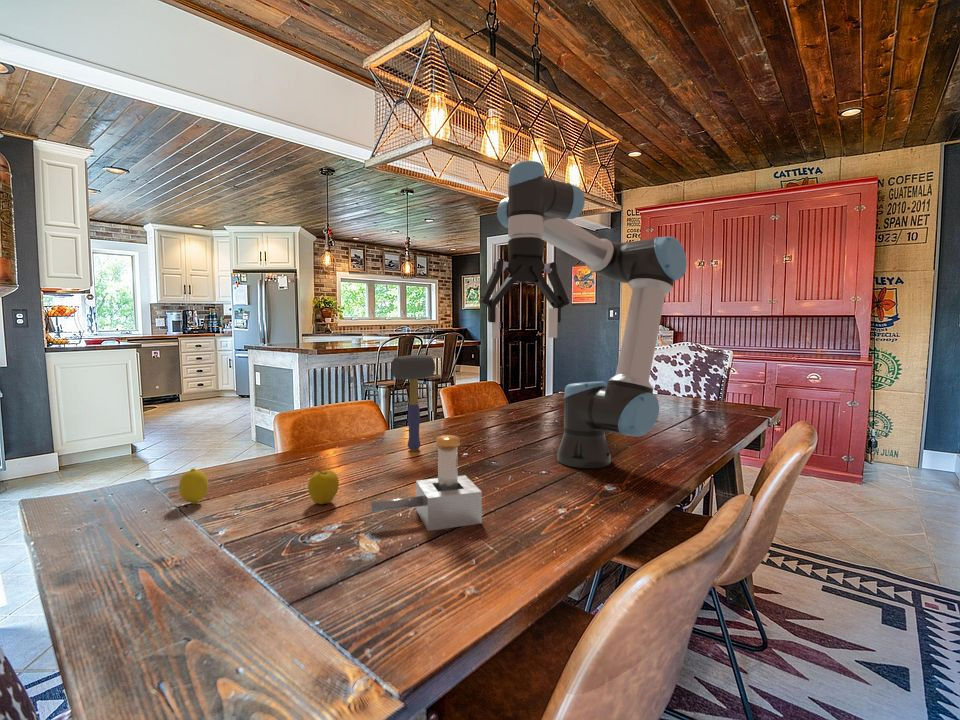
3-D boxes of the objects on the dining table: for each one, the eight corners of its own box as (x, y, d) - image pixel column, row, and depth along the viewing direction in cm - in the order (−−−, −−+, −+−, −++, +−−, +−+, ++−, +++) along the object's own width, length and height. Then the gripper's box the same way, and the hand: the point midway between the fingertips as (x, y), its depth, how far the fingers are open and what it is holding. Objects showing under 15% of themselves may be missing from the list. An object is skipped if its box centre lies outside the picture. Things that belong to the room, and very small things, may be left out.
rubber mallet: (401, 456, 146) (400, 356, 144) (390, 450, 152) (389, 355, 150) (437, 449, 153) (436, 354, 151) (425, 444, 159) (424, 353, 157)
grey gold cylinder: (464, 504, 101) (464, 437, 99) (448, 511, 97) (448, 442, 96) (447, 498, 104) (447, 434, 102) (431, 505, 100) (431, 438, 99)
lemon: (173, 506, 105) (172, 470, 105) (196, 498, 111) (195, 463, 110) (192, 510, 104) (191, 473, 103) (214, 501, 109) (213, 466, 108)
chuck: (465, 504, 107) (465, 475, 107) (481, 523, 97) (481, 491, 97) (368, 516, 100) (368, 485, 100) (375, 538, 90) (374, 504, 90)
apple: (306, 509, 104) (305, 473, 103) (311, 499, 110) (310, 464, 110) (337, 508, 105) (336, 472, 104) (340, 497, 111) (340, 463, 111)
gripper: (568, 244, 111) (567, 337, 113) (464, 238, 103) (464, 337, 105) (585, 239, 104) (584, 338, 106) (476, 231, 96) (476, 339, 98)
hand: (524, 338), depth 105 cm, fingers open, 13 cm apart
